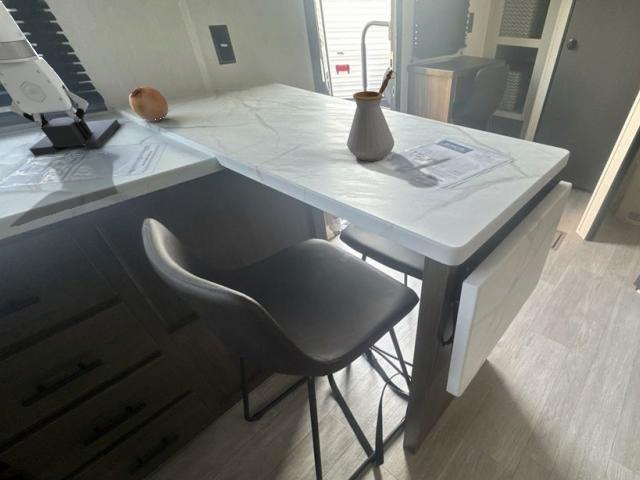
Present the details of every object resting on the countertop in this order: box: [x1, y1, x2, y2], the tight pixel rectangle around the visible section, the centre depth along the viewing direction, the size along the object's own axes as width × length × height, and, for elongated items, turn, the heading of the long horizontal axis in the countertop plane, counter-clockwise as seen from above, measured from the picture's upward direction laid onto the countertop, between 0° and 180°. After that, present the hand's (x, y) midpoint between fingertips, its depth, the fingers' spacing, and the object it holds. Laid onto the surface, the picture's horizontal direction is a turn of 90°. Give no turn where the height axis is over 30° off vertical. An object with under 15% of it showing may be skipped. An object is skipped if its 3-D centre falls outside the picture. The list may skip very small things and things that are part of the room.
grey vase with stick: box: [346, 69, 398, 162], centre depth 75 cm, size 21×12×15 cm, turn 160°
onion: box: [128, 85, 169, 123], centre depth 94 cm, size 10×9×10 cm
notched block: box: [28, 118, 120, 156], centre depth 86 cm, size 14×20×2 cm
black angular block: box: [40, 116, 93, 148], centre depth 80 cm, size 6×8×4 cm
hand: (73, 138), depth 82 cm, fingers closed on black angular block, 5 cm apart
